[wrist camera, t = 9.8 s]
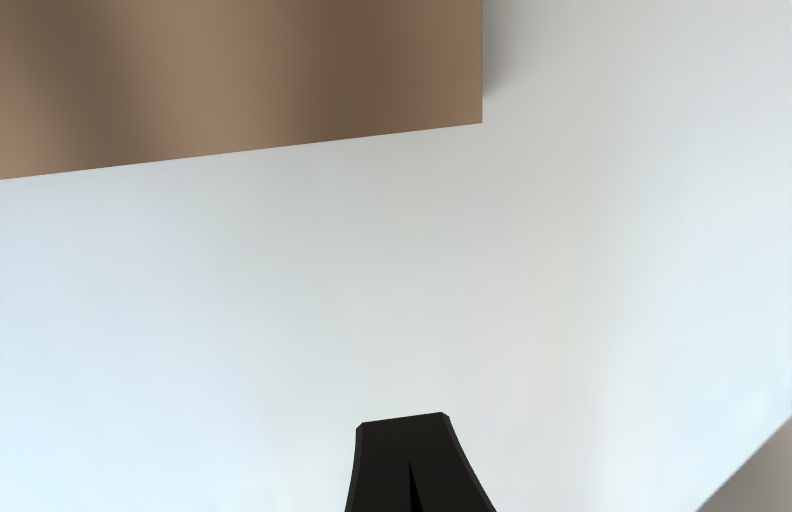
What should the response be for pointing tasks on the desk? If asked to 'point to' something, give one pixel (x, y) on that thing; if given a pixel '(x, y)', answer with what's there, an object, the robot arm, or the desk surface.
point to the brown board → (225, 76)
